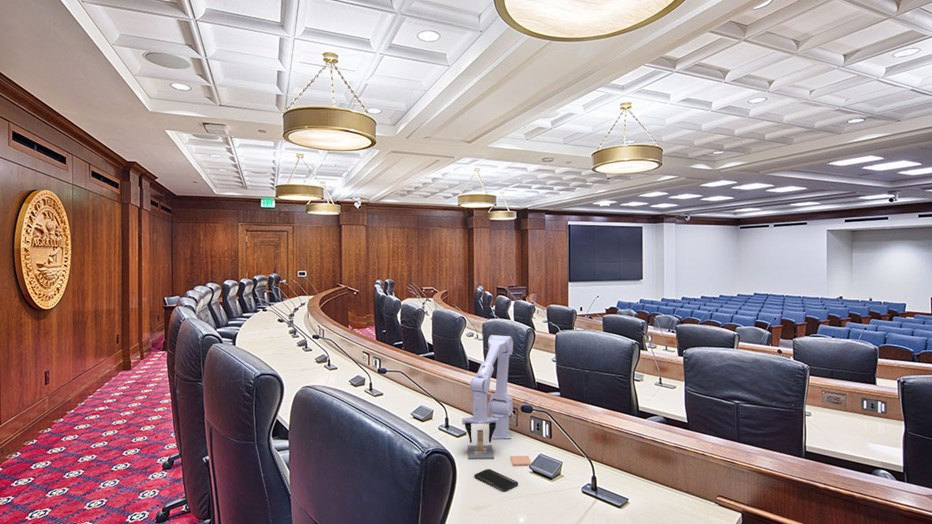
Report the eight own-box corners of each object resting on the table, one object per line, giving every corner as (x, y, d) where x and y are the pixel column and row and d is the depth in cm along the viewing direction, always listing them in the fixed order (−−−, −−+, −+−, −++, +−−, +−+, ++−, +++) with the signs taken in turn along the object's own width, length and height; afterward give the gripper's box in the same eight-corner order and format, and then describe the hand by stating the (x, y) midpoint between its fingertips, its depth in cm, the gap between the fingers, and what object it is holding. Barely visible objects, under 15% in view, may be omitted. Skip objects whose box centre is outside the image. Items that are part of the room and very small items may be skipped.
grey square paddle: (474, 450, 181) (473, 430, 181) (486, 449, 181) (486, 430, 181) (474, 454, 176) (474, 434, 176) (487, 454, 176) (487, 434, 177)
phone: (488, 468, 164) (519, 482, 153) (488, 471, 164) (519, 485, 153) (472, 475, 159) (503, 490, 148) (472, 478, 159) (503, 493, 148)
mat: (467, 447, 186) (467, 445, 186) (491, 446, 186) (491, 445, 186) (468, 459, 174) (468, 457, 174) (494, 458, 174) (494, 457, 174)
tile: (510, 456, 174) (512, 463, 167) (528, 455, 175) (531, 463, 168) (510, 459, 174) (512, 467, 167) (528, 459, 175) (531, 467, 168)
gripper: (462, 411, 176) (462, 445, 176) (499, 410, 176) (499, 445, 176) (461, 405, 183) (462, 439, 183) (497, 405, 183) (497, 438, 183)
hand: (480, 441), depth 180 cm, fingers open, 7 cm apart
